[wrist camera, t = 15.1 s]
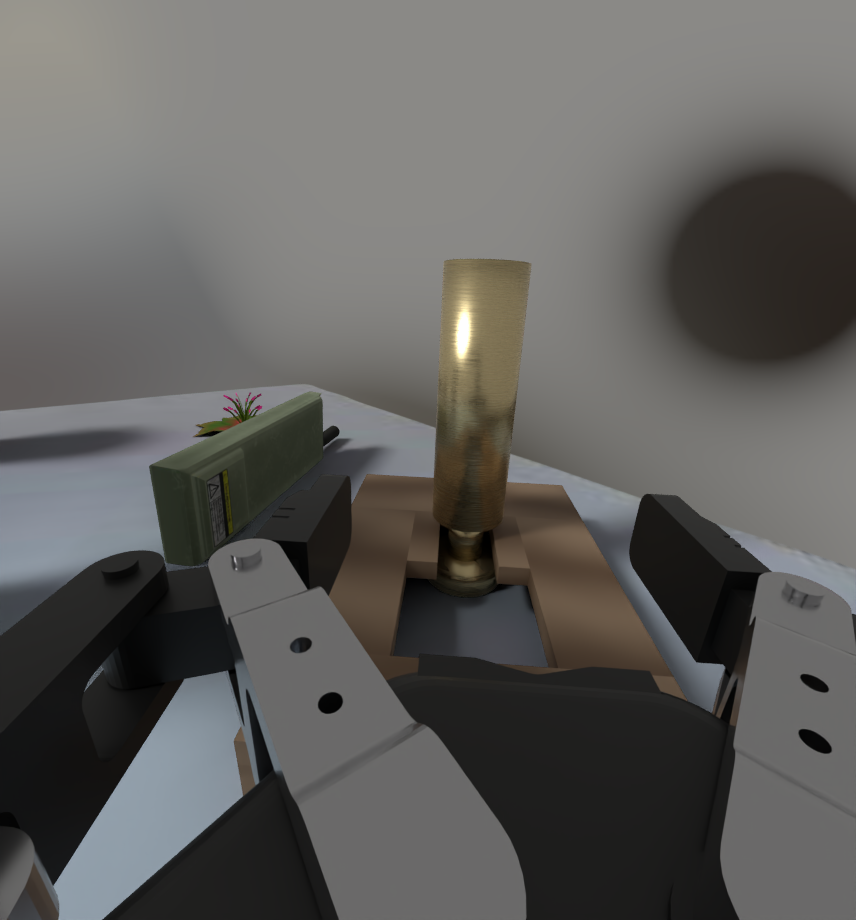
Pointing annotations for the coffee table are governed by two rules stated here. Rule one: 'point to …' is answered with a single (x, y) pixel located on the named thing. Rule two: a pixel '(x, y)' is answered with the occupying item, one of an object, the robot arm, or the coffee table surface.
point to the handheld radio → (235, 477)
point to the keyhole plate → (516, 562)
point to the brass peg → (475, 414)
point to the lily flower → (230, 422)
